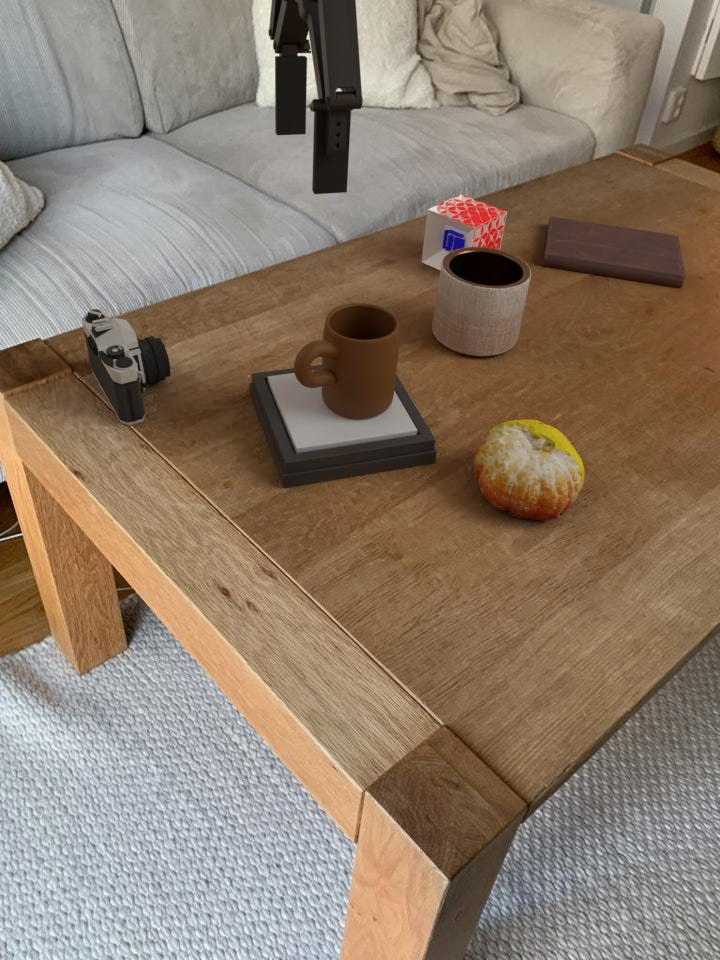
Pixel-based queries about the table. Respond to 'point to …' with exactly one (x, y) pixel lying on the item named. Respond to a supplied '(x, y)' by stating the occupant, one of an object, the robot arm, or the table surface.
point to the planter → (480, 301)
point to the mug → (354, 360)
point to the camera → (123, 363)
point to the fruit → (529, 470)
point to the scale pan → (330, 418)
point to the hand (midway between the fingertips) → (308, 161)
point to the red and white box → (461, 228)
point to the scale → (342, 458)
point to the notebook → (614, 251)
